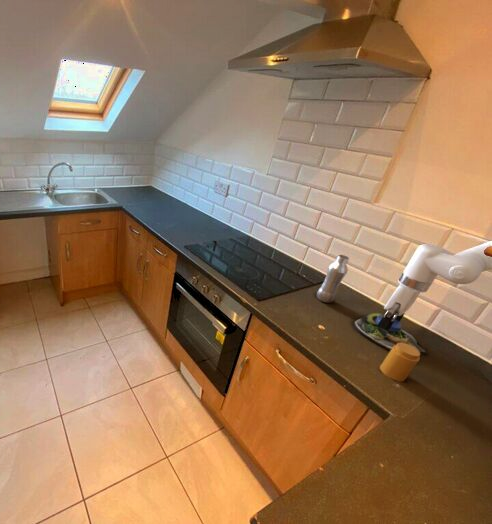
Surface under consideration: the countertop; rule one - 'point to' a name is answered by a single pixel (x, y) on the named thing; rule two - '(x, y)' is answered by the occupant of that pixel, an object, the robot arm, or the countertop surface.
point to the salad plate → (383, 333)
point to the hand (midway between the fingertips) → (388, 323)
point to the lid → (394, 327)
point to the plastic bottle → (333, 279)
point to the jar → (400, 361)
